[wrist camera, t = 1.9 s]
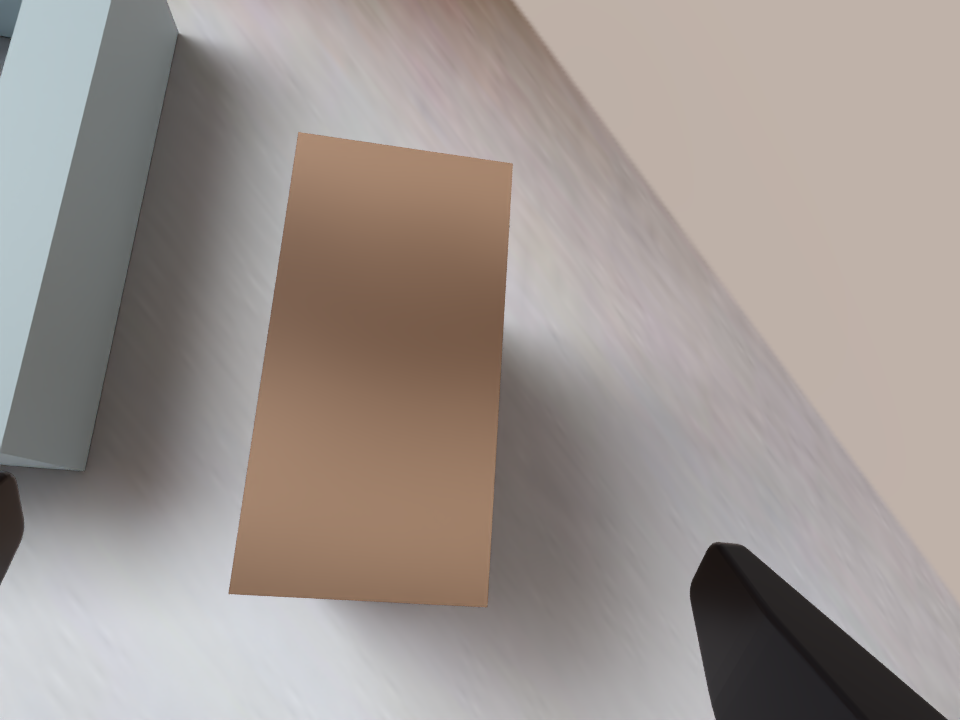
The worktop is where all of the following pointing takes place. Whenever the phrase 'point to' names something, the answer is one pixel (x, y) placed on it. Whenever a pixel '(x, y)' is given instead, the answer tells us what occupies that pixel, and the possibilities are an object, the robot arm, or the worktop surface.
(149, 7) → the light blue tray
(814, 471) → the worktop surface
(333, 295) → the brown rectangular block
